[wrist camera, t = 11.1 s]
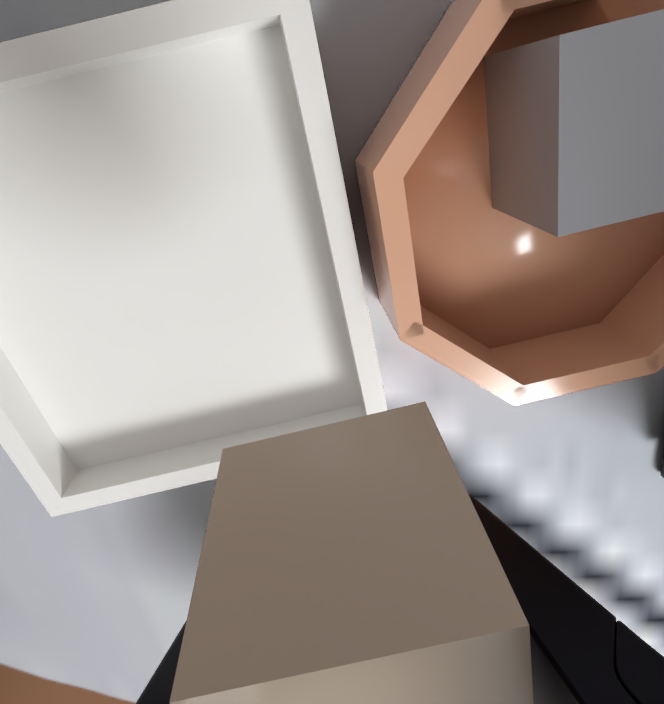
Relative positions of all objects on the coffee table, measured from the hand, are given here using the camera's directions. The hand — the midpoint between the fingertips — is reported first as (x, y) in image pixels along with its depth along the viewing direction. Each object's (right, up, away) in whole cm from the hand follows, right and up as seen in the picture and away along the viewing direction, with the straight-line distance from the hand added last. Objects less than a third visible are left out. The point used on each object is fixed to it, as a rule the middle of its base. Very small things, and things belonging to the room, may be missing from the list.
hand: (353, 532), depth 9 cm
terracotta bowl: (+7, +9, +7) cm, 14 cm away
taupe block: (0, 0, +1) cm, 1 cm away
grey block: (+7, +11, +6) cm, 14 cm away
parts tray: (-7, +6, +8) cm, 12 cm away
